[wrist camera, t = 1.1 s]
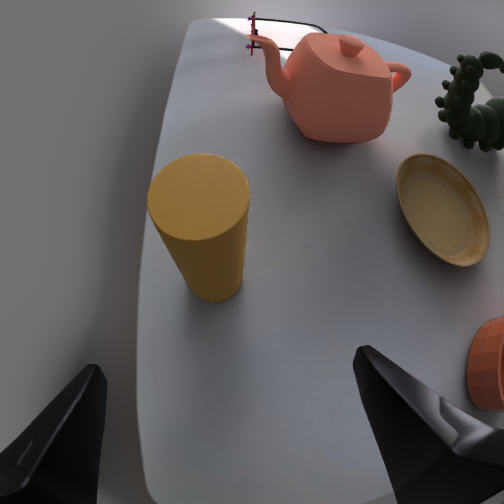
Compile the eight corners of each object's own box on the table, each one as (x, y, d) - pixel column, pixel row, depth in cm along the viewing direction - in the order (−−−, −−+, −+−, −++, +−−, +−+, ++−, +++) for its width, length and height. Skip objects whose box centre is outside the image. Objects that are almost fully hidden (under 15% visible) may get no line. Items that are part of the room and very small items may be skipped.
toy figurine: (436, 159, 35) (519, 167, 35) (494, 66, 17) (568, 109, 17) (412, 114, 38) (498, 130, 38) (451, 25, 20) (538, 70, 21)
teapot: (236, 87, 34) (239, 10, 23) (367, 91, 37) (393, 29, 25) (250, 159, 30) (259, 63, 18) (405, 157, 32) (450, 90, 21)
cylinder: (234, 308, 24) (235, 252, 12) (180, 294, 24) (131, 227, 12) (248, 256, 26) (260, 163, 14) (196, 244, 26) (169, 146, 14)
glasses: (247, 28, 42) (248, 7, 38) (331, 38, 43) (336, 18, 39) (245, 60, 37) (246, 34, 33) (347, 72, 38) (355, 49, 33)
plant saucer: (416, 288, 25) (430, 281, 23) (367, 167, 31) (375, 153, 28) (490, 259, 27) (503, 252, 25) (447, 163, 32) (456, 153, 30)
